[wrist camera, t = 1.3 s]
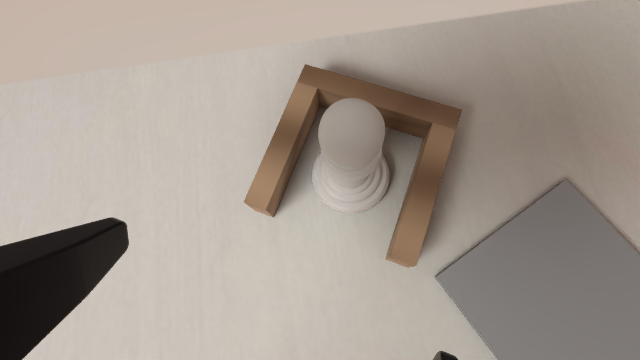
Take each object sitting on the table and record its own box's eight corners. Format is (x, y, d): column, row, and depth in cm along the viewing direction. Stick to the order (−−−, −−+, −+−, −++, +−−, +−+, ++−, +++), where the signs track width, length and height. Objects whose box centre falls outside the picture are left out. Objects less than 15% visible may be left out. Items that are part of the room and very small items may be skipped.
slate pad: (566, 449, 18) (571, 453, 18) (434, 276, 21) (436, 276, 21) (705, 328, 19) (712, 329, 19) (563, 181, 22) (567, 179, 22)
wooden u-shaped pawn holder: (407, 267, 21) (416, 265, 19) (253, 209, 23) (243, 201, 21) (449, 126, 24) (461, 109, 22) (308, 84, 26) (305, 64, 23)
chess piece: (301, 200, 23) (278, 153, 15) (326, 133, 25) (318, 54, 16) (375, 225, 22) (397, 191, 14) (397, 154, 24) (429, 83, 15)
